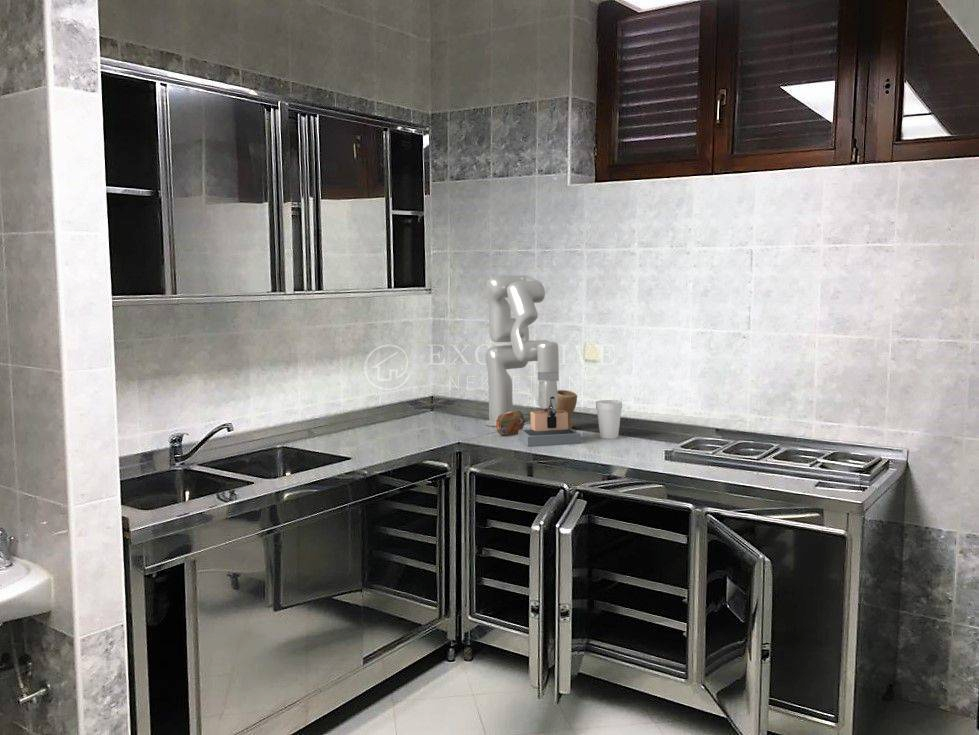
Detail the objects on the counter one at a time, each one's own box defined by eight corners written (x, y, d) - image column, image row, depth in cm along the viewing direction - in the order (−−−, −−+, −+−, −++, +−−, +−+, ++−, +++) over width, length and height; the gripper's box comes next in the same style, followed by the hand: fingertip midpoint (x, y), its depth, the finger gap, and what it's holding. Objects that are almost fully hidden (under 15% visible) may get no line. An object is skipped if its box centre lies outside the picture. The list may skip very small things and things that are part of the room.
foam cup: (592, 438, 314) (592, 403, 313) (601, 434, 322) (601, 399, 321) (617, 440, 310) (617, 404, 308) (625, 435, 318) (625, 400, 317)
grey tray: (518, 439, 316) (518, 429, 315) (569, 436, 319) (569, 426, 319) (527, 446, 302) (527, 436, 301) (580, 443, 305) (580, 433, 305)
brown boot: (575, 432, 327) (575, 393, 325) (544, 432, 329) (543, 392, 328) (580, 425, 341) (579, 387, 340) (550, 425, 344) (549, 387, 342)
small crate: (530, 428, 312) (530, 411, 311) (563, 426, 314) (562, 410, 314) (535, 431, 306) (534, 414, 305) (568, 429, 308) (567, 412, 307)
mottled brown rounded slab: (501, 437, 320) (501, 415, 319) (495, 436, 322) (494, 414, 321) (525, 431, 332) (524, 409, 331) (518, 430, 334) (518, 408, 333)
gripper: (532, 374, 316) (533, 423, 317) (544, 379, 299) (545, 430, 301) (551, 373, 317) (552, 422, 319) (565, 378, 300) (566, 429, 302)
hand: (549, 425), depth 310 cm, fingers closed on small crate, 6 cm apart
